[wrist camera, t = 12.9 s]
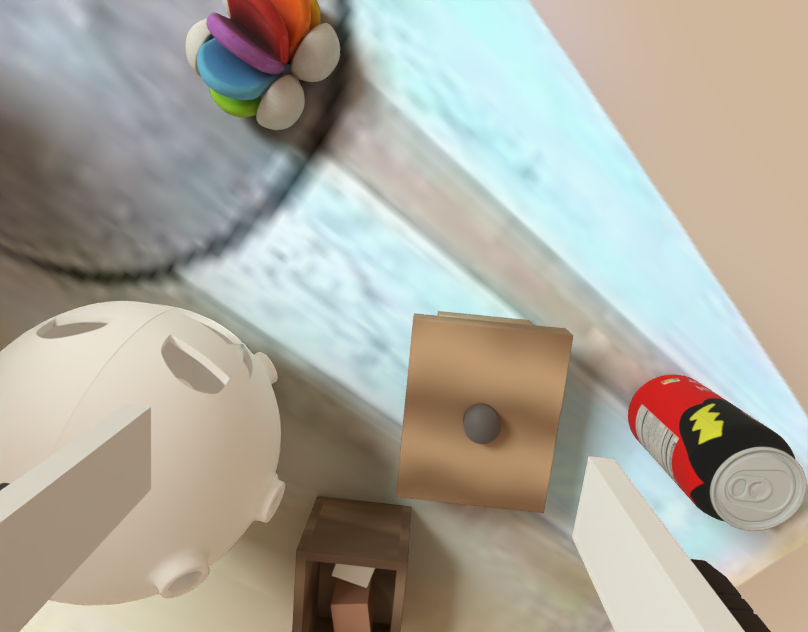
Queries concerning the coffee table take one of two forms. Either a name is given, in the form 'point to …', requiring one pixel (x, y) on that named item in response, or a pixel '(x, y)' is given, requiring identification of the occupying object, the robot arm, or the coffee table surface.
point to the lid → (482, 412)
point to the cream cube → (353, 574)
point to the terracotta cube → (352, 607)
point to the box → (351, 560)
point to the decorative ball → (170, 435)
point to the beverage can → (717, 453)
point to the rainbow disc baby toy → (263, 57)
